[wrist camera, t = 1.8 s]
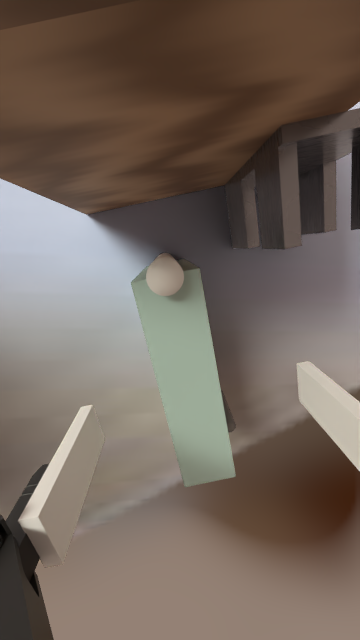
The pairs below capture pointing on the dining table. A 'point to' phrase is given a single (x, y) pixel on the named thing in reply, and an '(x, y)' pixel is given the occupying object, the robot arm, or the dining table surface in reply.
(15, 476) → the dining table surface
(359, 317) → the dining table surface
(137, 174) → the cabinet
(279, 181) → the grey open frame
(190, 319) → the door
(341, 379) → the dining table surface
